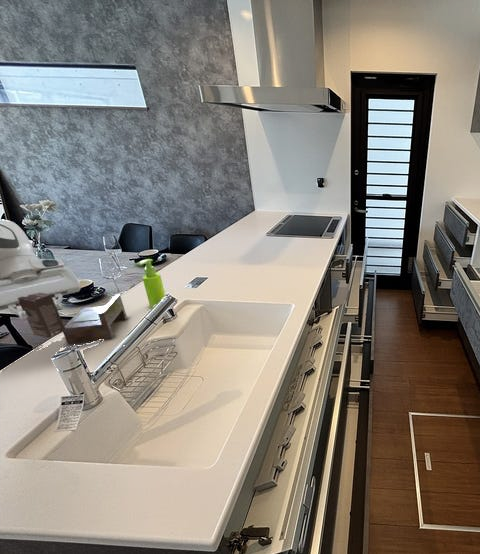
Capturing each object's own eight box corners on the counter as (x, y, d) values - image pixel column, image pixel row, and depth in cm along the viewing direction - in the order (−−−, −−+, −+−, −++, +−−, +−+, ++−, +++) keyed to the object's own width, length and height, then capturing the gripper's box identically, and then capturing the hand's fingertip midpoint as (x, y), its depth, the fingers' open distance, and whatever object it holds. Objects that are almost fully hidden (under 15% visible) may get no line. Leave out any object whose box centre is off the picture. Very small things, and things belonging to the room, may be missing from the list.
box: (67, 330, 90) (51, 294, 85) (49, 338, 86) (32, 301, 81) (51, 326, 91) (34, 291, 86) (33, 335, 87) (14, 298, 82)
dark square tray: (67, 344, 99) (56, 318, 95) (88, 322, 111) (79, 298, 107) (112, 338, 103) (103, 313, 99) (127, 318, 115) (120, 294, 111)
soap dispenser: (144, 308, 122) (131, 262, 114) (159, 300, 128) (147, 256, 120) (156, 310, 121) (144, 264, 113) (170, 303, 127) (160, 258, 119)
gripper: (-40, 277, 76) (-18, 324, 75) (68, 258, 92) (89, 297, 91) (-34, 288, 80) (-13, 333, 79) (69, 268, 96) (88, 305, 95)
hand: (42, 313), depth 85 cm, fingers closed on box, 5 cm apart
